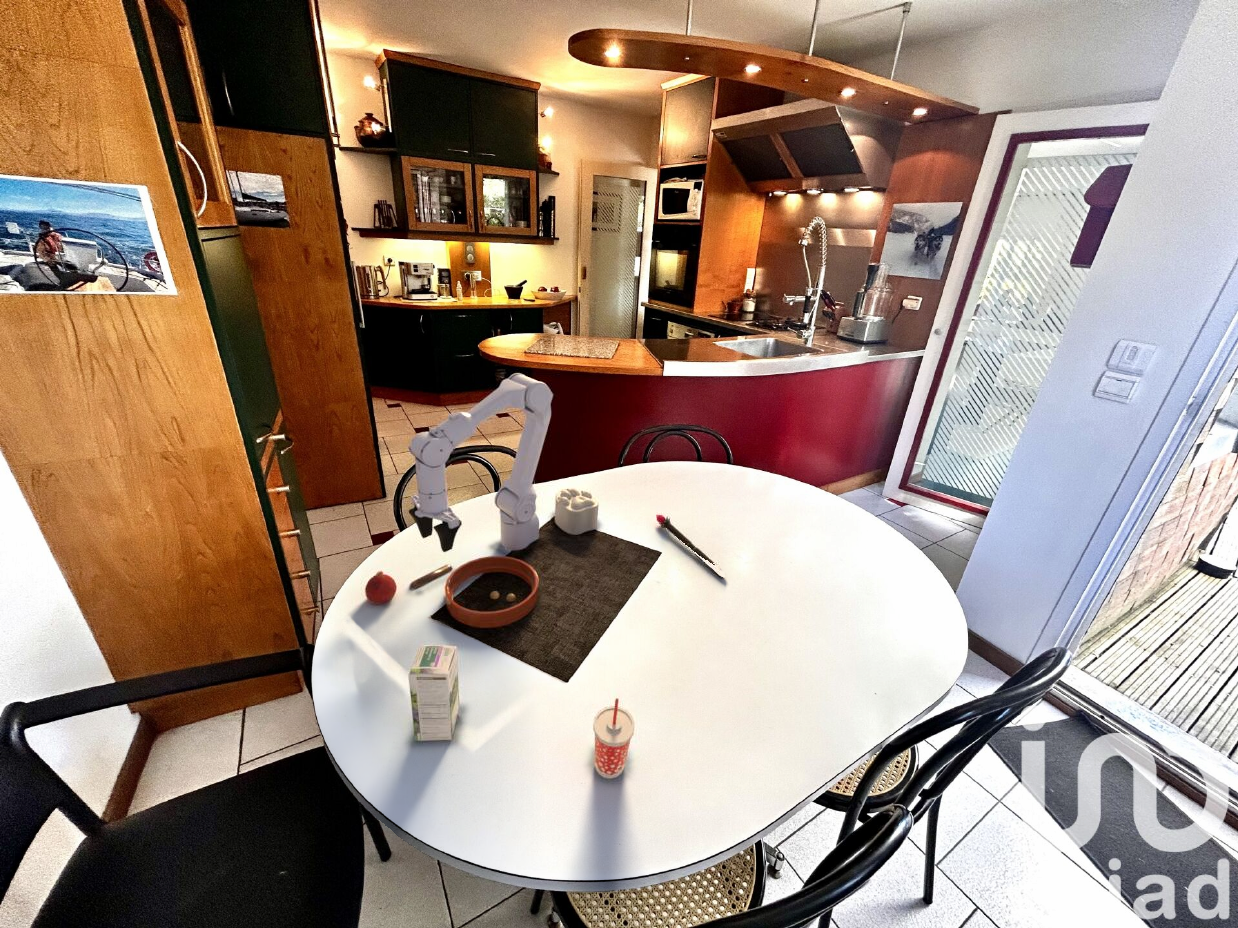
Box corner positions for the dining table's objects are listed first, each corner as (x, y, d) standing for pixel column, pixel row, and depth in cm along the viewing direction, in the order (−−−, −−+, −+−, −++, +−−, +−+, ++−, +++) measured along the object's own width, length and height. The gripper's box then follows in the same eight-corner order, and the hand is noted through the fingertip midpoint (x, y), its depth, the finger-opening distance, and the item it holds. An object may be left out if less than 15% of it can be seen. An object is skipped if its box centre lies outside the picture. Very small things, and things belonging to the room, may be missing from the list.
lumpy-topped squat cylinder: (570, 536, 132) (571, 509, 128) (546, 515, 141) (547, 488, 137) (601, 526, 138) (603, 499, 134) (576, 506, 147) (578, 480, 143)
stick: (448, 568, 115) (449, 560, 114) (454, 574, 114) (455, 566, 113) (407, 589, 107) (407, 581, 106) (413, 595, 106) (414, 588, 105)
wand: (720, 573, 118) (651, 510, 140) (717, 586, 120) (649, 522, 142) (733, 568, 120) (663, 507, 142) (730, 581, 122) (661, 519, 144)
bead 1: (500, 597, 107) (492, 595, 107) (501, 590, 106) (492, 588, 107) (496, 603, 105) (487, 601, 106) (497, 596, 105) (488, 593, 105)
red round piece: (386, 615, 100) (382, 583, 97) (361, 609, 101) (356, 578, 98) (403, 597, 105) (399, 566, 102) (379, 591, 106) (374, 561, 103)
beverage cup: (597, 739, 79) (603, 677, 73) (633, 752, 78) (642, 689, 72) (583, 775, 74) (589, 710, 68) (622, 789, 72) (631, 724, 66)
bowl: (498, 563, 119) (498, 546, 117) (556, 599, 109) (556, 581, 107) (427, 602, 105) (426, 583, 103) (486, 648, 94) (485, 628, 92)
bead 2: (509, 599, 107) (506, 592, 106) (518, 597, 107) (514, 590, 106) (507, 605, 105) (503, 598, 105) (516, 604, 105) (512, 597, 104)
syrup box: (424, 709, 81) (417, 643, 75) (461, 709, 82) (456, 643, 76) (414, 741, 76) (405, 673, 70) (453, 741, 77) (448, 673, 71)
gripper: (395, 482, 104) (401, 537, 109) (436, 507, 96) (440, 564, 102) (425, 473, 109) (430, 525, 115) (466, 495, 101) (469, 550, 107)
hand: (437, 542), depth 108 cm, fingers open, 7 cm apart
